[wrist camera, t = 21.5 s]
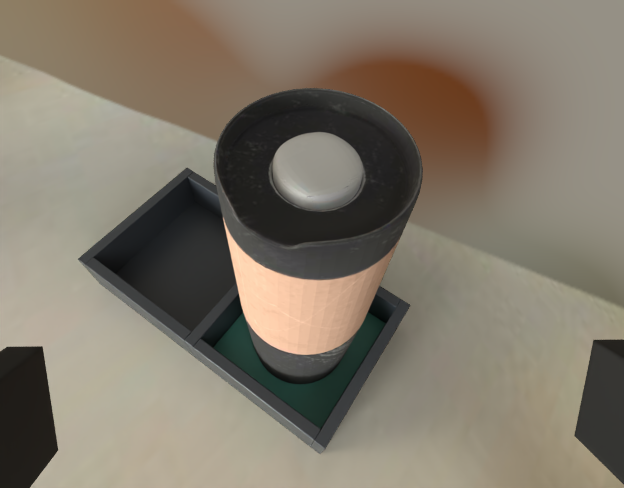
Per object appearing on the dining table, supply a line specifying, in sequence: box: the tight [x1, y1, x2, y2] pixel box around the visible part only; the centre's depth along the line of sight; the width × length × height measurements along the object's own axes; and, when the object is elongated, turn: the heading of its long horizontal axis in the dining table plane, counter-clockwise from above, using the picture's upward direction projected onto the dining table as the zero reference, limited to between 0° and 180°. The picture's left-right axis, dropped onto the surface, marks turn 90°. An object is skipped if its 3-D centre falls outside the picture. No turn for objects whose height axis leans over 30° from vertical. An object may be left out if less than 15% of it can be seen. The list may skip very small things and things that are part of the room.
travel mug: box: [214, 88, 423, 384], centre depth 22 cm, size 8×8×20 cm
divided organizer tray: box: [78, 168, 410, 454], centre depth 31 cm, size 22×12×4 cm, turn 56°
